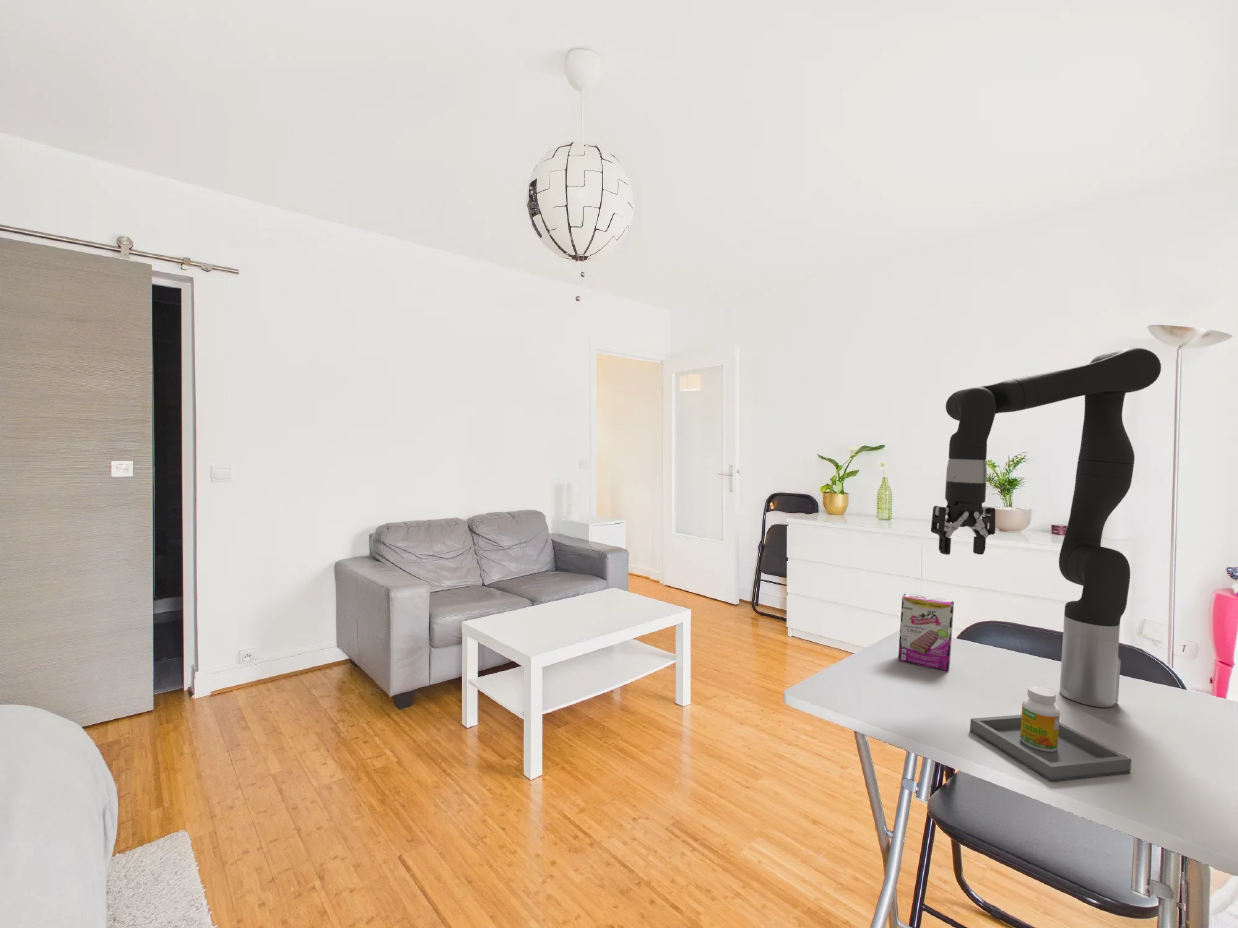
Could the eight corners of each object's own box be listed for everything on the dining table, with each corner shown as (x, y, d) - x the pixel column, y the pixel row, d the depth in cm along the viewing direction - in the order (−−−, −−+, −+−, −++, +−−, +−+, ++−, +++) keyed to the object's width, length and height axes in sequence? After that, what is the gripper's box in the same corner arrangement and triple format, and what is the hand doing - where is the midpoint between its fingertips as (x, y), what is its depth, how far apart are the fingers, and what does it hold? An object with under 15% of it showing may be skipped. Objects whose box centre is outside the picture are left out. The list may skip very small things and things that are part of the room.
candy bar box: (897, 661, 141) (901, 596, 140) (900, 655, 145) (903, 592, 144) (949, 672, 135) (953, 604, 134) (950, 665, 139) (954, 599, 138)
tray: (1040, 725, 109) (1041, 713, 109) (1130, 773, 94) (1131, 758, 94) (969, 731, 106) (970, 718, 106) (1050, 782, 91) (1051, 766, 90)
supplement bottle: (1015, 742, 102) (1018, 689, 101) (1025, 733, 105) (1028, 681, 104) (1051, 756, 97) (1055, 700, 97) (1061, 746, 101) (1065, 692, 100)
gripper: (951, 480, 118) (946, 557, 119) (1008, 482, 121) (1004, 557, 122) (925, 478, 126) (921, 550, 126) (979, 479, 129) (975, 550, 129)
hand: (961, 553), depth 124 cm, fingers open, 8 cm apart
